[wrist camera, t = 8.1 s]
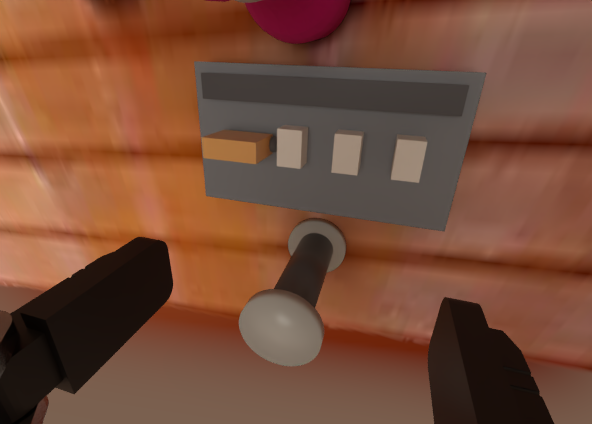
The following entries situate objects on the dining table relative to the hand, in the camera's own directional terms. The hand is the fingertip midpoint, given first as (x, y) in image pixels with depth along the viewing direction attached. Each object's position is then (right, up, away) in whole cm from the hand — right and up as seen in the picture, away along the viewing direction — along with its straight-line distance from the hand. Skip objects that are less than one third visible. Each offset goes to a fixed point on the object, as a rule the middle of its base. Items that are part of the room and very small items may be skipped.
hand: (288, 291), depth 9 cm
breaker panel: (+3, +9, +20) cm, 22 cm away
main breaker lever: (-4, +9, +18) cm, 21 cm away
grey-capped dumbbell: (+3, -1, +24) cm, 24 cm away
